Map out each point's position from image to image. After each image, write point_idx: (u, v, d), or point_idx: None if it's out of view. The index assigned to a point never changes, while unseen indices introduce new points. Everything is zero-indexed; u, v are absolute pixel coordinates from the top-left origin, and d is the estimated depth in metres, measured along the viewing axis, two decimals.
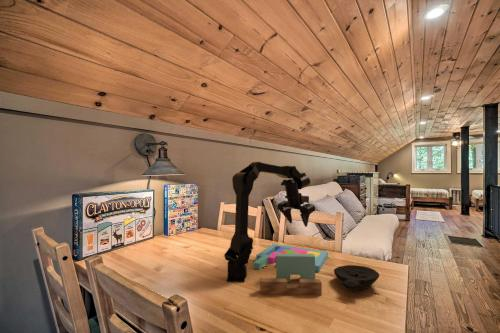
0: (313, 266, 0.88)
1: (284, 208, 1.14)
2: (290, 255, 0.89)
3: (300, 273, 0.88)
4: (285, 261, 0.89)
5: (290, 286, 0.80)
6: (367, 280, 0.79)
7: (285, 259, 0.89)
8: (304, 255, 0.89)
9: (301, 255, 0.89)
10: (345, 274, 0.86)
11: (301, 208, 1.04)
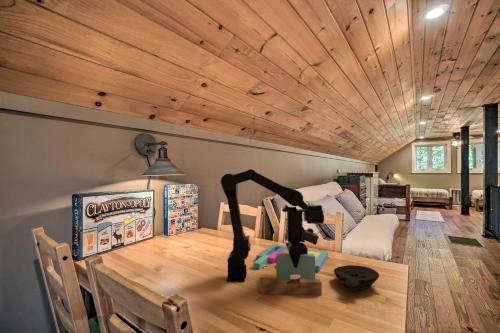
0: (313, 266, 0.88)
1: (289, 242, 0.93)
2: None
3: (300, 273, 0.88)
4: (285, 261, 0.89)
5: (290, 286, 0.80)
6: (367, 280, 0.79)
7: (285, 259, 0.89)
8: (304, 255, 0.89)
9: (301, 255, 0.89)
10: (345, 274, 0.86)
11: (289, 244, 0.84)
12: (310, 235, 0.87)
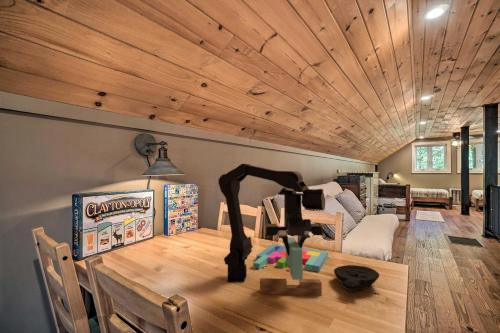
0: (292, 261, 0.74)
1: None
2: (290, 241, 0.83)
3: (289, 263, 0.79)
4: None
5: (290, 286, 0.80)
6: (367, 280, 0.79)
7: None
8: (293, 246, 0.77)
9: (293, 245, 0.79)
10: (345, 274, 0.86)
11: None
12: (288, 223, 0.76)
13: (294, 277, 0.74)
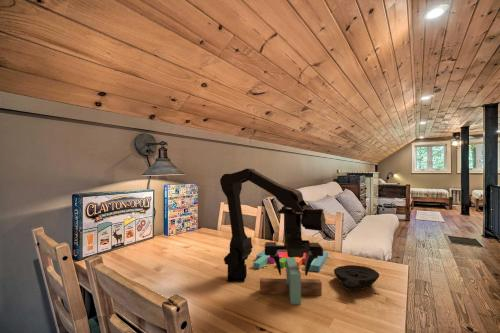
0: (290, 285, 0.74)
1: None
2: (290, 263, 0.82)
3: None
4: (287, 267, 0.84)
5: None
6: (367, 280, 0.79)
7: (287, 264, 0.84)
8: (292, 269, 0.77)
9: (292, 267, 0.78)
10: (345, 274, 0.86)
11: None
12: (287, 243, 0.75)
13: (292, 301, 0.73)
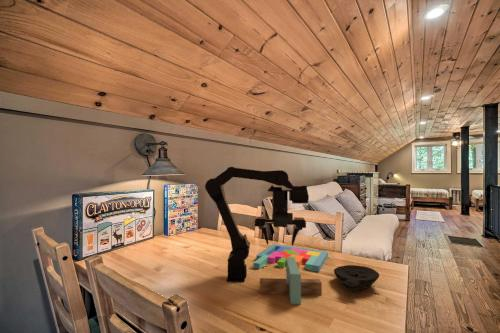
0: (290, 285, 0.74)
1: None
2: (290, 263, 0.82)
3: None
4: (287, 267, 0.84)
5: None
6: (367, 280, 0.79)
7: (287, 264, 0.84)
8: (292, 269, 0.77)
9: (292, 267, 0.78)
10: (345, 274, 0.86)
11: None
12: (273, 215, 0.86)
13: (292, 301, 0.73)
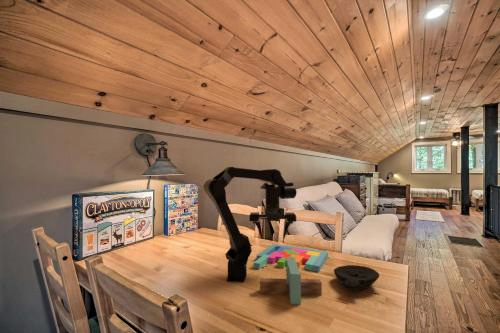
0: (290, 285, 0.74)
1: None
2: (290, 263, 0.82)
3: None
4: (287, 267, 0.84)
5: None
6: (367, 280, 0.79)
7: (287, 264, 0.84)
8: (292, 269, 0.77)
9: (292, 267, 0.78)
10: (345, 274, 0.86)
11: None
12: (266, 211, 0.93)
13: (292, 301, 0.73)
